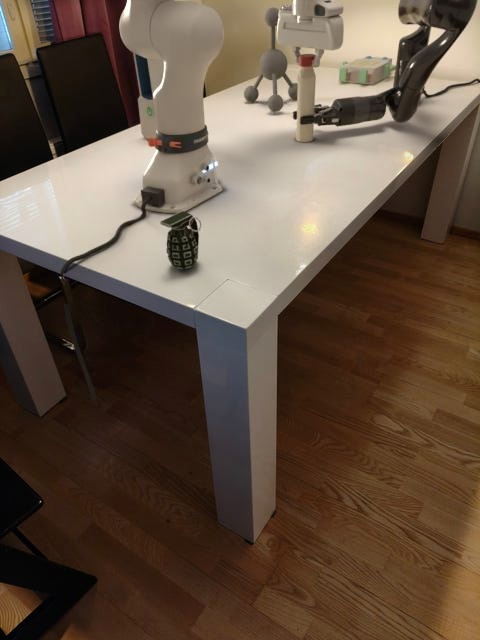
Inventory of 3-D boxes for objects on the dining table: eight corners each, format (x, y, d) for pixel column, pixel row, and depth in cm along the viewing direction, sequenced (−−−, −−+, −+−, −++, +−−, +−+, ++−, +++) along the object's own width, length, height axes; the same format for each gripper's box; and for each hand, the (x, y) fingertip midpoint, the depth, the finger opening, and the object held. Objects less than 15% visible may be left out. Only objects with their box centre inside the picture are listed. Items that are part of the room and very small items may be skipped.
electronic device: (141, 137, 154) (123, 28, 136) (159, 131, 158) (144, 24, 140) (166, 145, 147) (151, 30, 129) (185, 138, 151) (172, 26, 133)
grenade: (182, 278, 88) (175, 228, 82) (162, 268, 91) (153, 219, 85) (208, 263, 92) (203, 214, 85) (187, 253, 95) (181, 205, 89)
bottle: (309, 135, 148) (312, 55, 135) (315, 140, 144) (319, 58, 131) (294, 137, 147) (295, 57, 134) (299, 142, 143) (301, 60, 130)
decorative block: (357, 54, 211) (402, 57, 202) (356, 70, 215) (400, 74, 206) (330, 65, 195) (377, 69, 186) (329, 83, 199) (375, 87, 190)
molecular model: (322, 103, 175) (328, 5, 157) (274, 116, 166) (273, 12, 147) (282, 92, 191) (282, 1, 172) (235, 103, 181) (230, 8, 163)
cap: (303, 67, 131) (303, 57, 130) (295, 64, 134) (295, 55, 133) (318, 65, 132) (319, 55, 131) (310, 62, 136) (310, 53, 134)
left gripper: (271, 6, 129) (271, 63, 138) (333, 9, 117) (329, 72, 126) (286, 3, 133) (286, 60, 141) (349, 6, 121) (344, 67, 129)
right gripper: (341, 92, 148) (288, 98, 144) (363, 103, 137) (306, 110, 133) (339, 117, 152) (288, 124, 149) (360, 130, 141) (305, 138, 138)
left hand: (307, 65), depth 133 cm, fingers closed on cap, 4 cm apart
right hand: (297, 118), depth 141 cm, fingers closed on bottle, 5 cm apart
